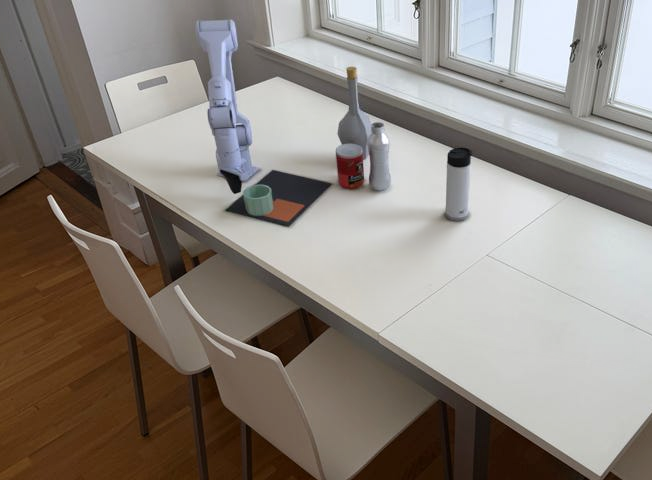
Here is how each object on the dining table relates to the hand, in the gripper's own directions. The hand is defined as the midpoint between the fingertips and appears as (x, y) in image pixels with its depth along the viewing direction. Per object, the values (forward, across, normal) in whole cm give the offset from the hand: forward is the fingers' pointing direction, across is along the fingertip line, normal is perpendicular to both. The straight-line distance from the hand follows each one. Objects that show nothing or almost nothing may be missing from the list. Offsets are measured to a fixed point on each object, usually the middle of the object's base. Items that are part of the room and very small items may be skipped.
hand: (236, 192), depth 186 cm
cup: (+2, -8, -2) cm, 9 cm away
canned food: (+3, -12, -30) cm, 33 cm away
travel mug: (+3, -45, -44) cm, 62 cm away
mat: (+3, -6, -10) cm, 12 cm away
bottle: (+3, -3, -39) cm, 39 cm away
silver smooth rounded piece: (+3, -19, -36) cm, 41 cm away
